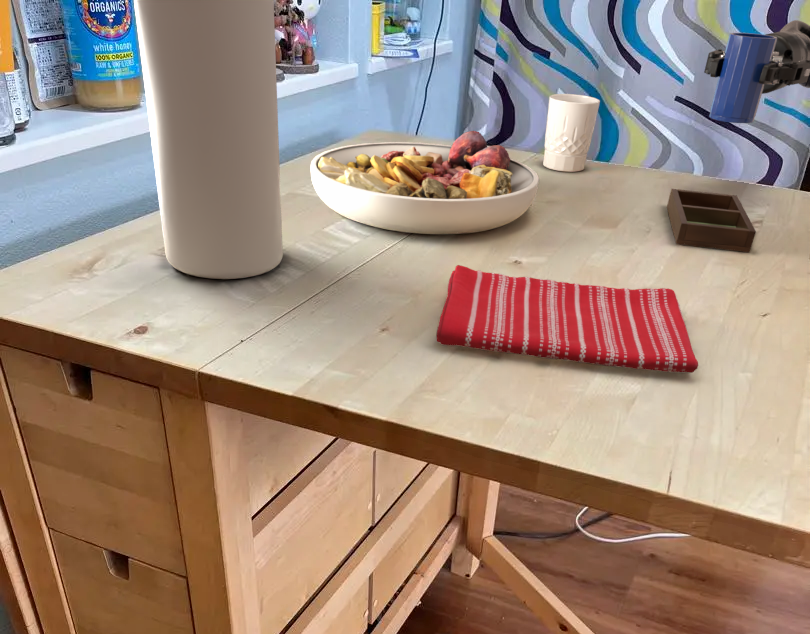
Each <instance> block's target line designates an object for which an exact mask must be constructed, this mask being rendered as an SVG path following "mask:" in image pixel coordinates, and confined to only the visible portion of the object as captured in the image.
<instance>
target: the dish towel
mask: <svg viewBox="0 0 810 634" xmlns="http://www.w3.org/2000/svg"><path fill="white" fill-rule="evenodd" d="M446 295H447V296H446V298H445V301H444V305H443V308H442V310H441V311H442V312H441V314H440V317H439V320H438V326H437V330H436V342H437V343H439V344H440V345H443V346H451V347H452V346H453V347H454V346H456V347H457V346H458V347H464V348H466V349H467V348H468V349H475V350H483V351H490V352H495V353H507V354H514V355H521V356H529V357H530V356H531V357H536V358H542V359H543V358H545V359H550V360H561V361H572V362H577V363H582V364H583V363H586V364H591V365H598V366H604V367H610V368H611V367H613V368H617V367H618V368H623V369H625V368H627V369H634V370H648V371H654V372H664V373H681V374H682V373H687V374H688V373H689V374H693V373H694V372H695V371H697V369H698V367H699V360H698V359H697V358H696V356H695V355H696V354H695V353H694V350H693V347H692V342H691V339H690V335H689V333H688V329H687V326H686V322H685V319H684V317H683V313H682V309H681V305H680V302H679V301H678V299H677V295H676V292H675V290H674V289H671V288H665V287H660V288H652V287H651V288H647V287H646V288H637V289H630V288H629V287H623V288H616V287H609V286H605V285H594V284H593V285H591V284H580V283H577V282H576V283H575V282H573V283H571V282H566V281H557V280H553V279H548V278H547V279H543V278H535V277H530V276H519V277H518V276H509V275H506V274H502V273H495V272H486V271H482V270H474V269H472V268H470V267H468V266H464V265H461V264H457V265H456V266H455V269H454V270H452V271H451V274H450V277H449V280H448V283H447V294H446Z"/></svg>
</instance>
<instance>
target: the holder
mask: <svg viewBox="0 0 810 634" xmlns="http://www.w3.org/2000/svg"><path fill="white" fill-rule="evenodd" d="M666 209H667V214H668V217H669V221H670V225H671V229H672V233H673V236H674V241H675V244H676V245H679V246H680V245H681V246H690V247H697V248H708V249H715V250H725V251H734V252H743V253H750V252H751V250H752V246H753V243H754V239H755V236H756V233H757V231H756V228H755V227H754V225H753V222H752V221H751V219H750V217H749V215H748V213H747V212H746V209H745V207H744V206H743V204H742V202H741V200H740V199H739V197H738V195H737V194H736V195H735V194H729V193H728V194H727V193H718V192H709V191H698V190H689V189H680V188H671V189H670V192H669V197H668V201H667V205H666Z"/></svg>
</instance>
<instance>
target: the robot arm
mask: <svg viewBox="0 0 810 634" xmlns="http://www.w3.org/2000/svg"><path fill="white" fill-rule="evenodd" d="M764 35H769V36H774V37H777V42H776V45H775V49H774V52H773V56H772V59H771V63H769V64H765V65H764V67H763V70H762V73H761V77H760V80H759V84H764V88H763V91H762V95H764V94H765V95H766V94H769V93H772V92H775V91H778V90H781V89H782V88H785V87H787V86H788V87H789V86H790V87H791V86H793V85H800V86H802V87H803V88H805V89H810V25H809V24H808V23H806V22H804V21H802V20H798V19H796V20H791V21H789V22H787V24H785V25H784V26H783V27H782V28H781V29H780V30H779V31H777V32H771V33H766V34H764ZM724 54H725V50H723V49H722V48H718V49H715V50H712V51H710V52H709V53H708V55H707V59H706V63H705V66H704V71H703V73H704V74H706V75H708V76H709V77H710V78H719V74H720V70H721V66H722V62H723V58H724Z"/></svg>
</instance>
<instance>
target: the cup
mask: <svg viewBox="0 0 810 634" xmlns="http://www.w3.org/2000/svg"><path fill="white" fill-rule="evenodd" d="M776 42H777V37H774V36H769V35H765V34H760V33H749V32H730V33H729V35H728V39H727V43H726V47H725V50H724V52H725V54H724V58H723V62H722V66H721V70H720V74H719V77H717V78H718V79H717V83H716V86H715V91H714V93H713V94H714V95H713V99H712V103H711V106H710V112H709V118H710V119H712V120H715V121H720V122H724V123H731V124H752V123H753V122H754V121H755V118H756V117H757V113H758V109H759V105H760V102H761V98H762V95H763V94H762V91H763V88H764V84H759V80H760V77H761V73H762V70H763V67H764V65H765V64H769V63H771V59H772V56H773V52H774V49H775V45H776Z"/></svg>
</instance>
